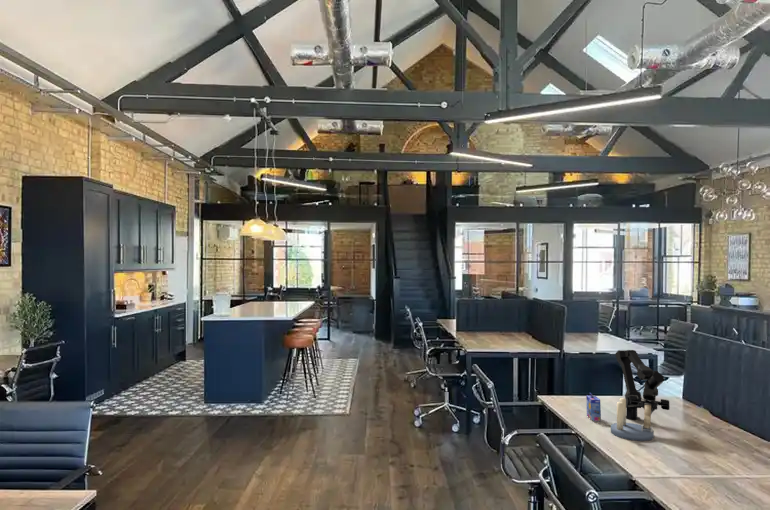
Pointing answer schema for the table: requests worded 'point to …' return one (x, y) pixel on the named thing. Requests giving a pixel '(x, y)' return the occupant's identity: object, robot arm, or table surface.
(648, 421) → the hinged leg
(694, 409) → the table surface
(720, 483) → the table surface
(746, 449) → the table surface
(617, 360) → the robot arm
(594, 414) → the ink cartridge box
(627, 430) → the round peg stand
